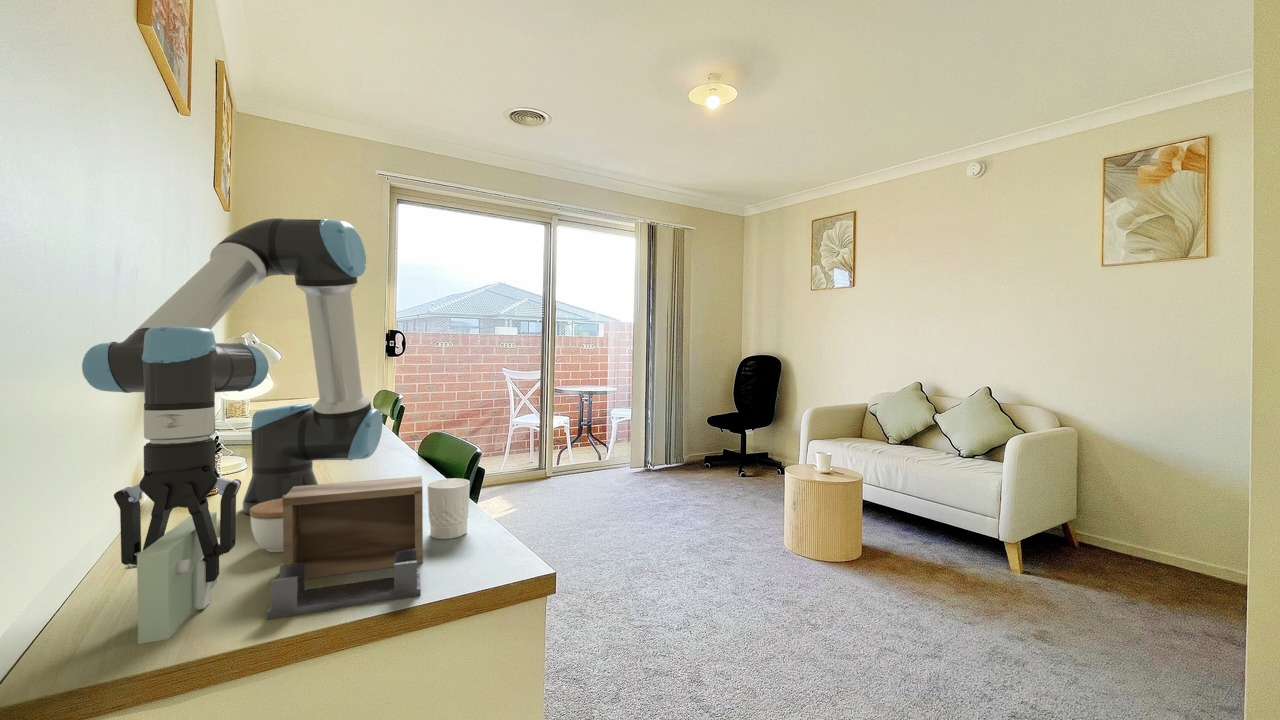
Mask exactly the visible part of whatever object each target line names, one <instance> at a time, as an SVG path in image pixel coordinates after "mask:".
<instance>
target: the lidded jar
mask: <svg viewBox="0 0 1280 720" xmlns="http://www.w3.org/2000/svg"><path fill="white" fill-rule="evenodd" d="M285 496H286V495H283V496H282V498H281V499H275V500H270V501H266V502H262V503H259V504H257V505H255V506H253V507H251V509H250V515H249V516H250V528H251V533H252V536H253V539H254V540H255V541H256V543H257V544H258V545H259V546H261V547H263V548H264V549H265V551H266V552H269V553H283V498H284V497H285Z"/></svg>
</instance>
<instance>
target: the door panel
mask: <svg viewBox="0 0 1280 720" xmlns="http://www.w3.org/2000/svg"><path fill="white" fill-rule="evenodd" d="M209 513H210V516H211V519H212V523H213V526H214V530H215V533H216V536H217V537H218V533H217V532H218V527H217V514H218V513H217V511H213V512H211V511H210V512H209ZM142 550H143V549H142ZM142 550H141V551H142ZM202 557H203V552H202V549H201V545H200V542H199V539H198V535H197V532H196V529H195V525H194V522H193V518H192V515H191V514H190V515H189V516H188V517H187V518H186V519H184V520H182V521H181V522H180V523H179V524H177V525H176V526H174V527H173V528H171V530H169V531H168V532H165V534H164V536H162V537H161V538H160V539H158V540H157V541H156V542H154V543H153V544H152V545H150V546H149V547H147V548H146V549H145V550H143V551H142V552H141V553H139V554H138V555H137V567H136V577H137V579H136V580H137V586H136V587H137V644H138V645H140V644H145V643H147V644H149V643H153V642H159V641H166V640H170V639H171V637H172V636H174V634H175V633H176V632H177V630H178V629H180V627H181V625H183V623H184V622H185V621H186V620H187V619H188V617H189V616H190V615H191V614H192V612H194V610H195V609H196V608H197V562H198V561H199V560H200V559H201V558H202ZM217 583H218V578H217V579H216V580H215V581H213V582H211V590H212V589H213V588H214V587H215V585H216V584H217Z"/></svg>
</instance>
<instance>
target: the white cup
mask: <svg viewBox="0 0 1280 720" xmlns="http://www.w3.org/2000/svg"><path fill="white" fill-rule="evenodd" d="M470 484H471V481H470V480H469V479H465V478H459V477H458V478H456V477H453V478H442V479H436V480H433V481H430V482H428V483H427V484H426V485H427V486H426V487H427V503H428V504H427V505H428V506H427V507H428V521H429V525H430V527H429V528H430V537H431V538H433V539H439V540H450V539H454V538H459V537H461V536H464V535H465V534H466V533H467V532H468V518H469V506H470V487H471V486H470Z"/></svg>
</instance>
